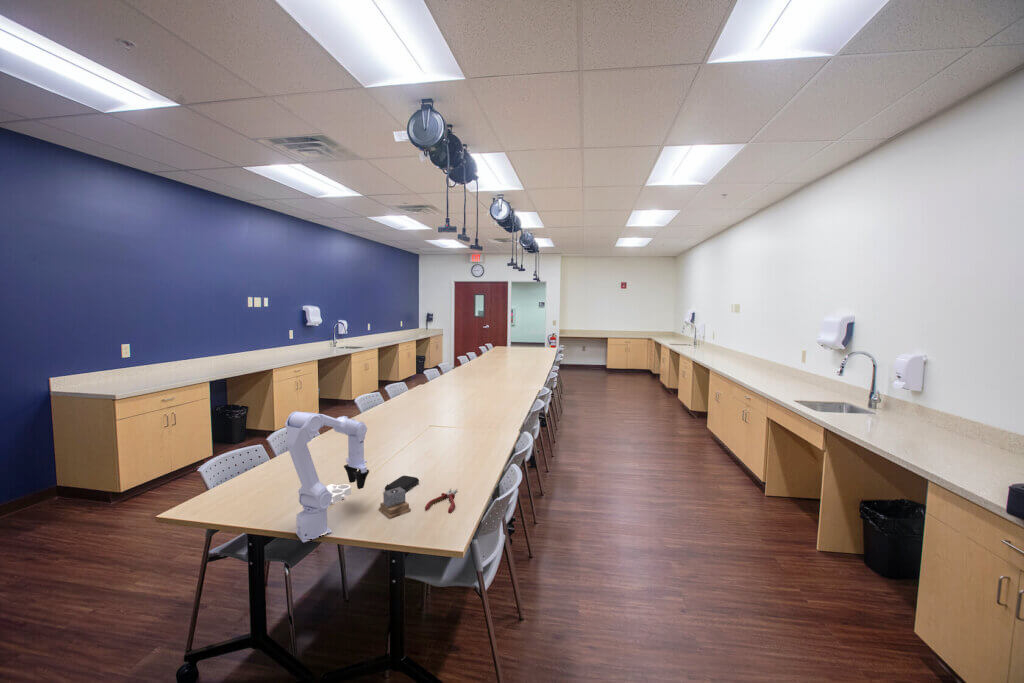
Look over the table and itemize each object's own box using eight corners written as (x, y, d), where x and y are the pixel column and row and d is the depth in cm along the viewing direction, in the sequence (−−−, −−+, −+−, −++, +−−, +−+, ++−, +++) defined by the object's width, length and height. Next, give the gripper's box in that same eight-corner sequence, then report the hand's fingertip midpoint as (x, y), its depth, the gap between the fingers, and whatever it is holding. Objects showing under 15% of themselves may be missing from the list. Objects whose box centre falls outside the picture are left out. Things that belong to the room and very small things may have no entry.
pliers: (466, 492, 179) (466, 486, 179) (451, 515, 160) (451, 508, 159) (441, 490, 181) (441, 484, 181) (423, 512, 162) (423, 505, 162)
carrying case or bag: (400, 479, 191) (380, 492, 177) (400, 473, 191) (380, 485, 177) (420, 483, 188) (401, 496, 174) (420, 476, 188) (401, 489, 174)
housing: (405, 502, 162) (405, 490, 161) (388, 508, 157) (388, 495, 156) (399, 498, 165) (399, 486, 164) (383, 504, 160) (383, 491, 159)
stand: (389, 519, 155) (389, 511, 154) (378, 510, 161) (378, 503, 161) (410, 511, 161) (410, 503, 161) (399, 503, 167) (399, 496, 167)
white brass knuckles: (336, 487, 182) (358, 495, 175) (297, 503, 167) (319, 512, 159) (336, 479, 182) (358, 487, 174) (297, 495, 166) (319, 504, 159)
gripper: (374, 454, 158) (374, 488, 159) (358, 444, 169) (358, 476, 170) (356, 458, 154) (356, 493, 155) (340, 448, 164) (341, 481, 165)
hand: (356, 485), depth 162 cm, fingers open, 7 cm apart
